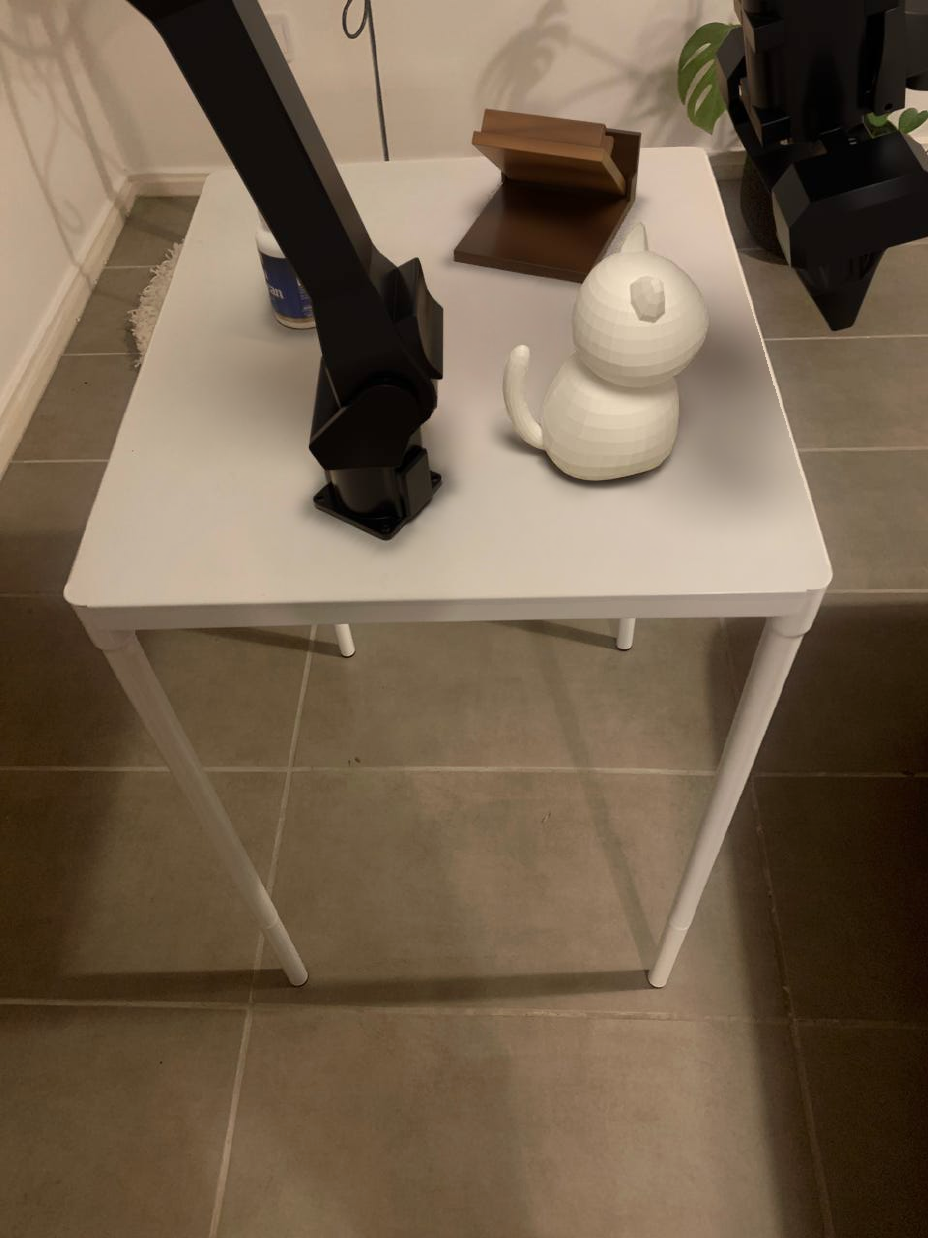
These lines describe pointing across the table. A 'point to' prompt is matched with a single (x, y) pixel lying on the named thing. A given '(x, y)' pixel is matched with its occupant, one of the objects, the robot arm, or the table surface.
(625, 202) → the stand
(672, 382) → the cat figurine
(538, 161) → the wooden letter rack
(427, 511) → the table surface
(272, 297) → the pill bottle
